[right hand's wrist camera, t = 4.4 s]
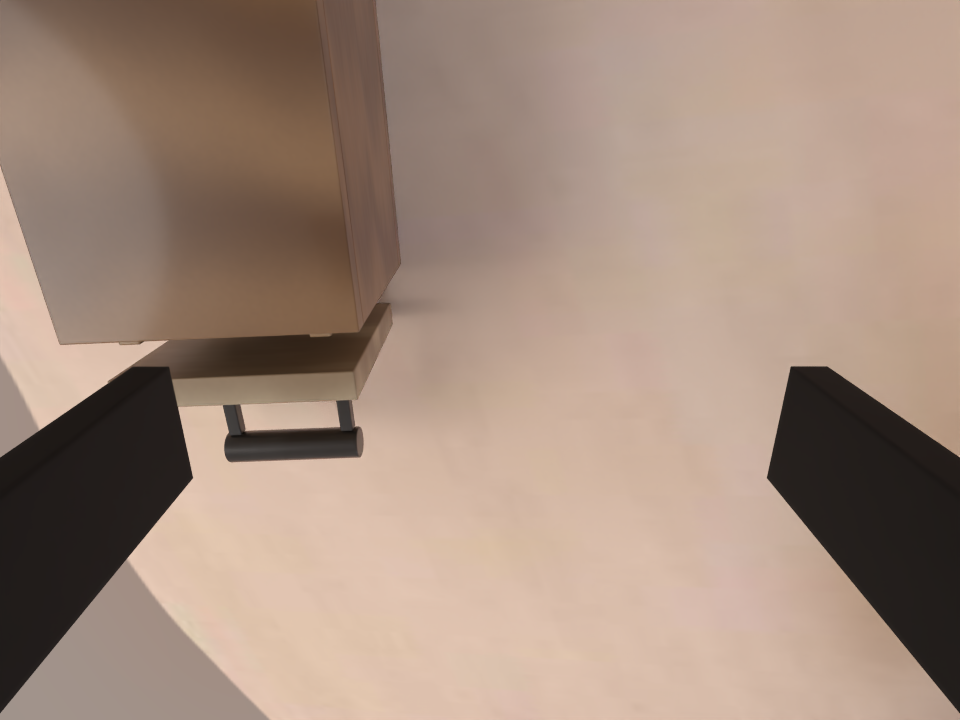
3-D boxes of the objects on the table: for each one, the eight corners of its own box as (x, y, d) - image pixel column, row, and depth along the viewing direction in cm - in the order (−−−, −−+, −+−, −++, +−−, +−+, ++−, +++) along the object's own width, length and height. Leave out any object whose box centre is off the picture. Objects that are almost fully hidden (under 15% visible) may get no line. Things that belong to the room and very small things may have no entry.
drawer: (402, 415, 33) (373, 517, 24) (237, 422, 33) (150, 525, 24) (347, -103, 24) (271, -233, 15) (123, -90, 24) (-77, -211, 15)
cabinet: (401, 264, 30) (359, 332, 20) (201, 273, 31) (59, 345, 20) (354, -222, 23) (251, -501, 13) (93, -205, 23) (-211, -466, 13)
